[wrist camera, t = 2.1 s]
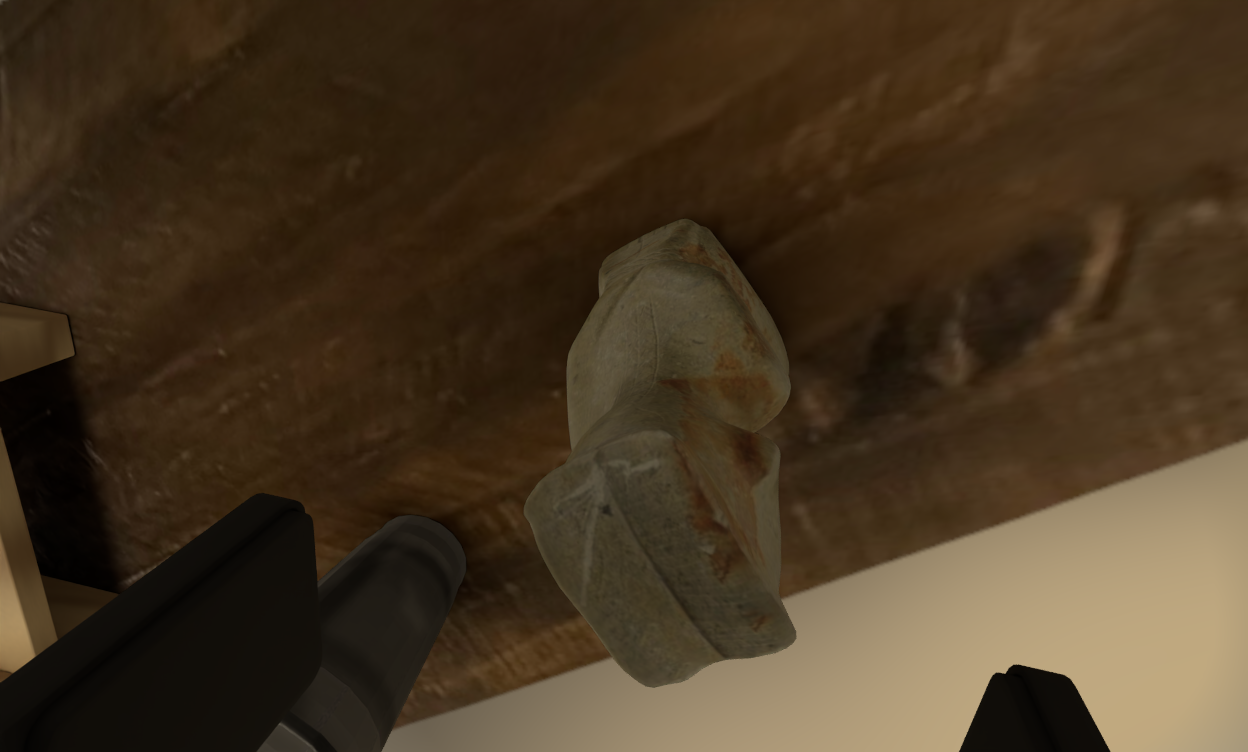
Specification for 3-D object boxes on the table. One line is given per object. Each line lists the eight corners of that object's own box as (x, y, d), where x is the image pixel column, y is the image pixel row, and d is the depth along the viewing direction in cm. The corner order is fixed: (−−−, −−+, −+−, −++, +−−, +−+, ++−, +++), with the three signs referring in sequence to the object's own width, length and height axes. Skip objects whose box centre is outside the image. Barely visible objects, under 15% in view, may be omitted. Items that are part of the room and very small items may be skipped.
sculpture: (670, 419, 27) (575, 744, 13) (588, 253, 25) (379, 428, 11) (813, 366, 25) (877, 680, 11) (736, 183, 23) (702, 291, 9)
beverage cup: (506, 515, 30) (108, 1151, 12) (483, 637, 33) (135, 1300, 15) (354, 468, 31) (-249, 1002, 12) (345, 592, 33) (-156, 1173, 15)
